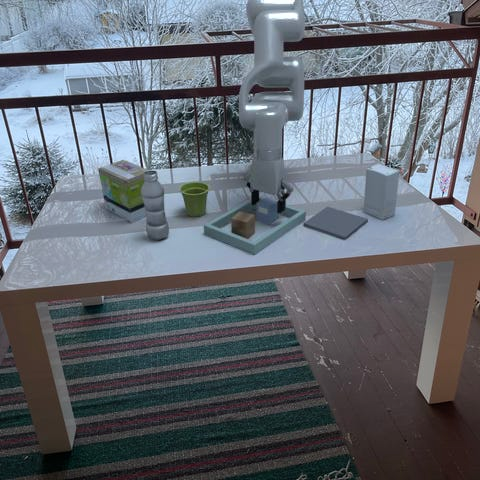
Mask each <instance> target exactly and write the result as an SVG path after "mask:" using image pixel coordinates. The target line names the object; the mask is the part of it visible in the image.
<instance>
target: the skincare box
mask: <svg viewBox="0 0 480 480" xmlns="http://www.w3.org/2000/svg"><path fill="white" fill-rule="evenodd" d="M365 171H366V173H365V184H364V185H365V186H364V196H363V197H364V199H363V201H364V202H363V210H362V211H363V212H364V213H367V214H368V215H371V216H373V217H375V218H377V219H379V220H382V221H383V220H385V219H388V218H392V217H393V216H395V214H396V208H397V207H396V206H397V198H398V196H397V195H398V186H399V179H400V177H399V176H400V170H398V169H395V168H392V167H389V166H387V165H384V164H380V163H377V164H375V165H372V166H370V167H367V168H366V170H365Z"/></svg>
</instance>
